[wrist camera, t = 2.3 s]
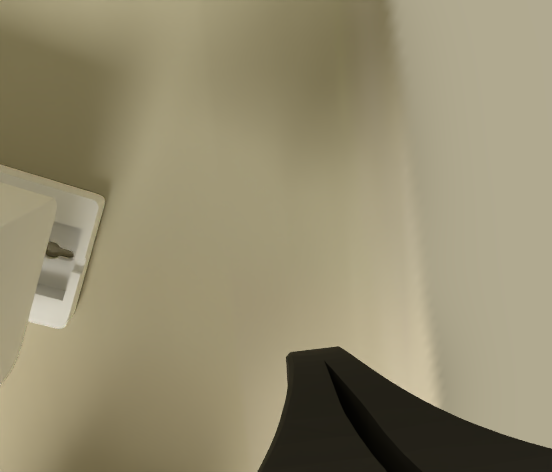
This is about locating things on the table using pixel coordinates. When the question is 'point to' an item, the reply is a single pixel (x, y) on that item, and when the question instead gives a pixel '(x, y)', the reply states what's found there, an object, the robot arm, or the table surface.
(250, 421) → the table surface
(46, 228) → the security camera
